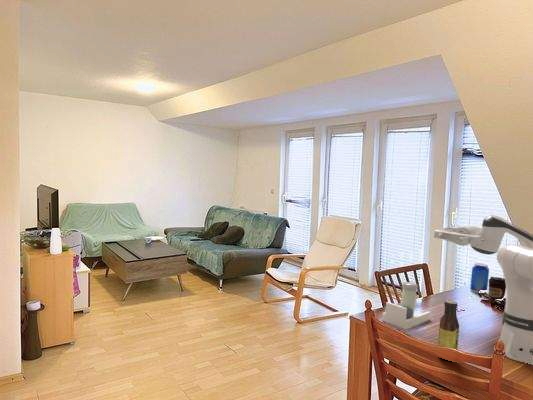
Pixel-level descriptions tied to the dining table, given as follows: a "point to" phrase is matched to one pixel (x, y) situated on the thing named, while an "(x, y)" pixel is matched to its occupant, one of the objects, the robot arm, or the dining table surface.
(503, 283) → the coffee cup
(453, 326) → the sauce bottle
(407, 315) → the pusher
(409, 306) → the jar
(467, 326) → the dining table surface
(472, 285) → the beer can
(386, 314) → the pusher lane
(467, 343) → the dining table surface
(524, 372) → the dining table surface
